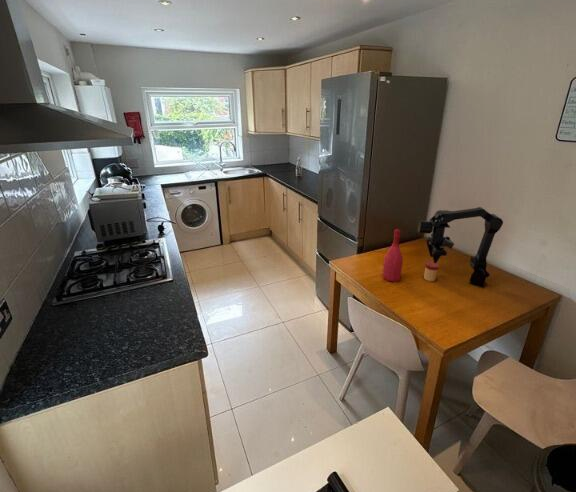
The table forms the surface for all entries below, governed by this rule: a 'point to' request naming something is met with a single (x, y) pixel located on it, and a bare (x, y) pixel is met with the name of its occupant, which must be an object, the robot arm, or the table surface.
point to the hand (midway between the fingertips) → (433, 259)
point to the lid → (432, 265)
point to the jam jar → (430, 274)
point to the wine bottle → (393, 260)
